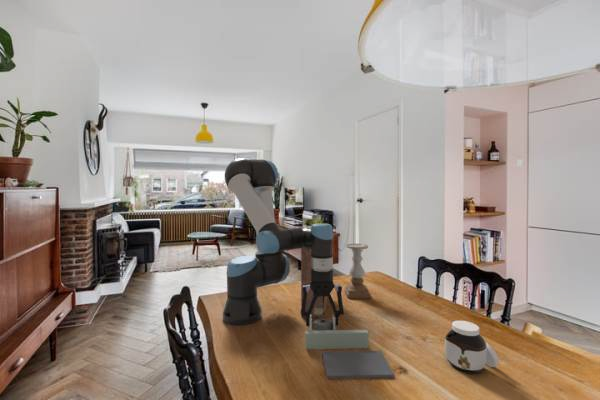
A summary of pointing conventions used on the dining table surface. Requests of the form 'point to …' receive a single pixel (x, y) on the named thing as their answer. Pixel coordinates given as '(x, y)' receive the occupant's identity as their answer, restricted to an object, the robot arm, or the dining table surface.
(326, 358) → the mat
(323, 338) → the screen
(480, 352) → the spread jar
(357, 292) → the candle holder
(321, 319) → the dice cube
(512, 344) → the dining table surface
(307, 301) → the book
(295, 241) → the robot arm
